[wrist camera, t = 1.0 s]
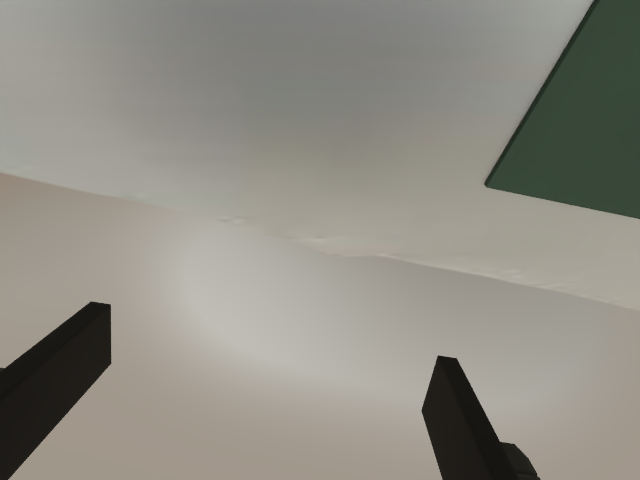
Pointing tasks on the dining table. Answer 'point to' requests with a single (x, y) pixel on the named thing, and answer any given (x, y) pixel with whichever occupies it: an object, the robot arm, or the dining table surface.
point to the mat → (584, 120)
